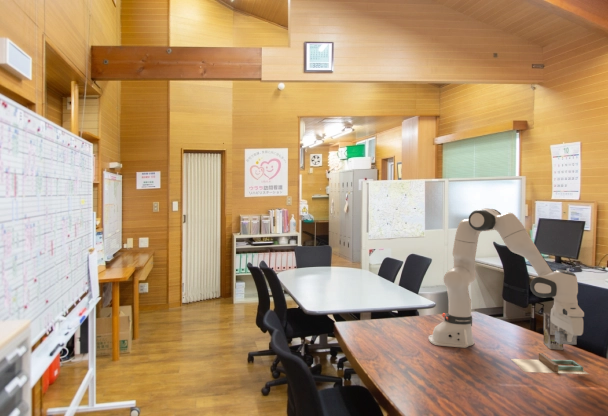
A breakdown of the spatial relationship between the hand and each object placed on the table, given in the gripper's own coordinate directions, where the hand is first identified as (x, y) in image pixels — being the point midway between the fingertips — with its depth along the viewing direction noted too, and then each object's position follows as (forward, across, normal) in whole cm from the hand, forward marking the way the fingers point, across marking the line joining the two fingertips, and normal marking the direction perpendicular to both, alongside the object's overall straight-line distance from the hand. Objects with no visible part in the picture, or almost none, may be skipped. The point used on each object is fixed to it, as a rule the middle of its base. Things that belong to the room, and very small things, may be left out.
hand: (565, 339), depth 186 cm
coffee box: (+13, -29, +9) cm, 33 cm away
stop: (+2, 0, 0) cm, 2 cm away
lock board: (+13, 0, -7) cm, 15 cm away
